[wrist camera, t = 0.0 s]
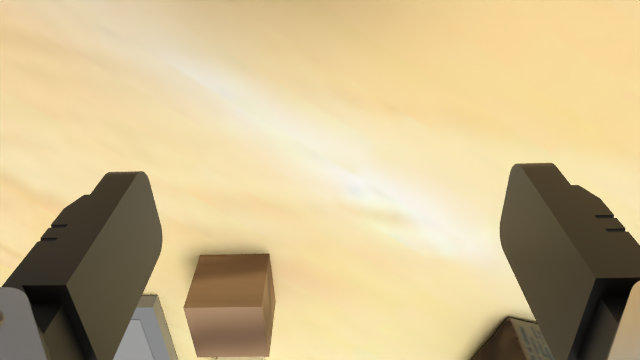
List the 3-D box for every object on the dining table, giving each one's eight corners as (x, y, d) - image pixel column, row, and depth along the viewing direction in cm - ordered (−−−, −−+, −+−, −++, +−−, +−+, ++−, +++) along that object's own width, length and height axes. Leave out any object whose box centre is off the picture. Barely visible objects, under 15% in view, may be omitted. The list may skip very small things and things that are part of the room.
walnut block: (200, 254, 35) (183, 307, 31) (269, 253, 35) (261, 306, 31) (211, 302, 38) (197, 357, 34) (275, 301, 38) (269, 356, 34)
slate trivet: (-8, 297, 38) (-18, 310, 37) (157, 295, 37) (152, 308, 36) (49, 395, 45) (42, 408, 44) (188, 394, 45) (185, 407, 44)
